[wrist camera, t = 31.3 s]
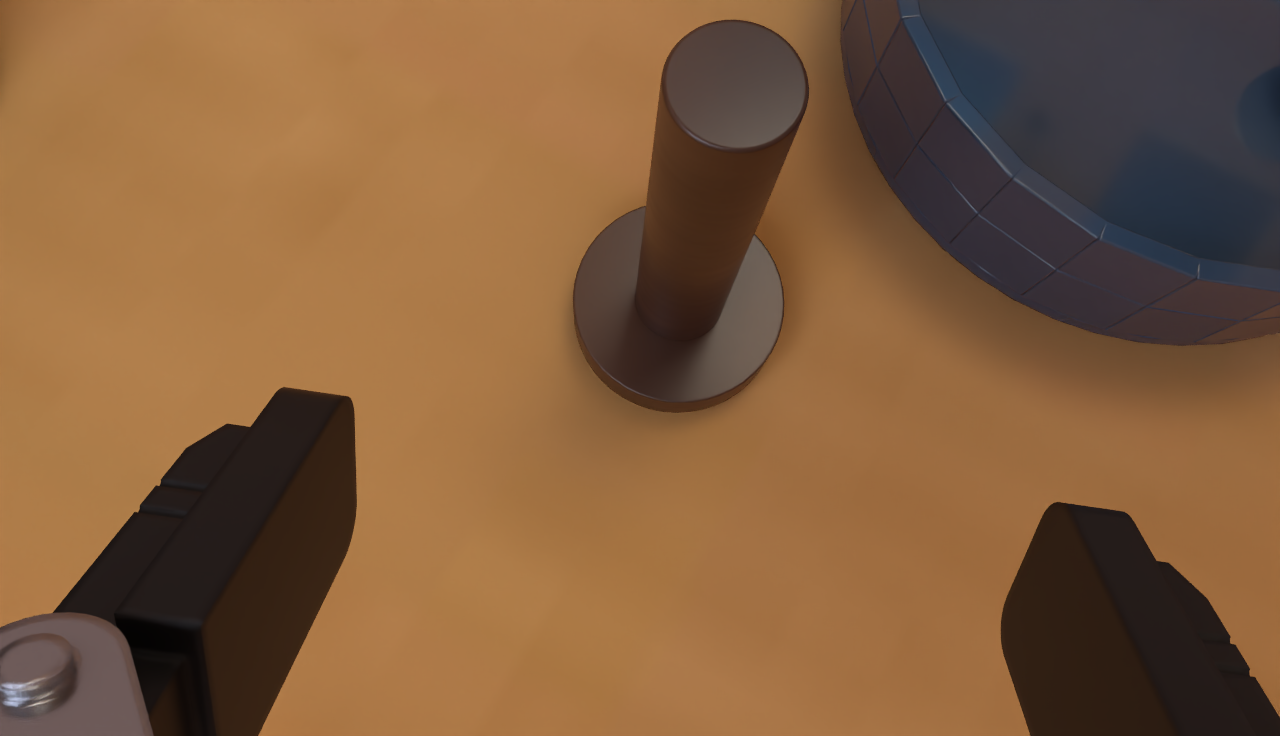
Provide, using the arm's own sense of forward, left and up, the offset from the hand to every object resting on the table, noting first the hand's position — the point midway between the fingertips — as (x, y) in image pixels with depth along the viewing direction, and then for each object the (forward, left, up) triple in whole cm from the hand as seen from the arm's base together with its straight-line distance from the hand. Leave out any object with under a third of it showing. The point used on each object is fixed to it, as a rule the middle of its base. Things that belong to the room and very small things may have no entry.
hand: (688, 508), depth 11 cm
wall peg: (0, +8, -16) cm, 18 cm away
